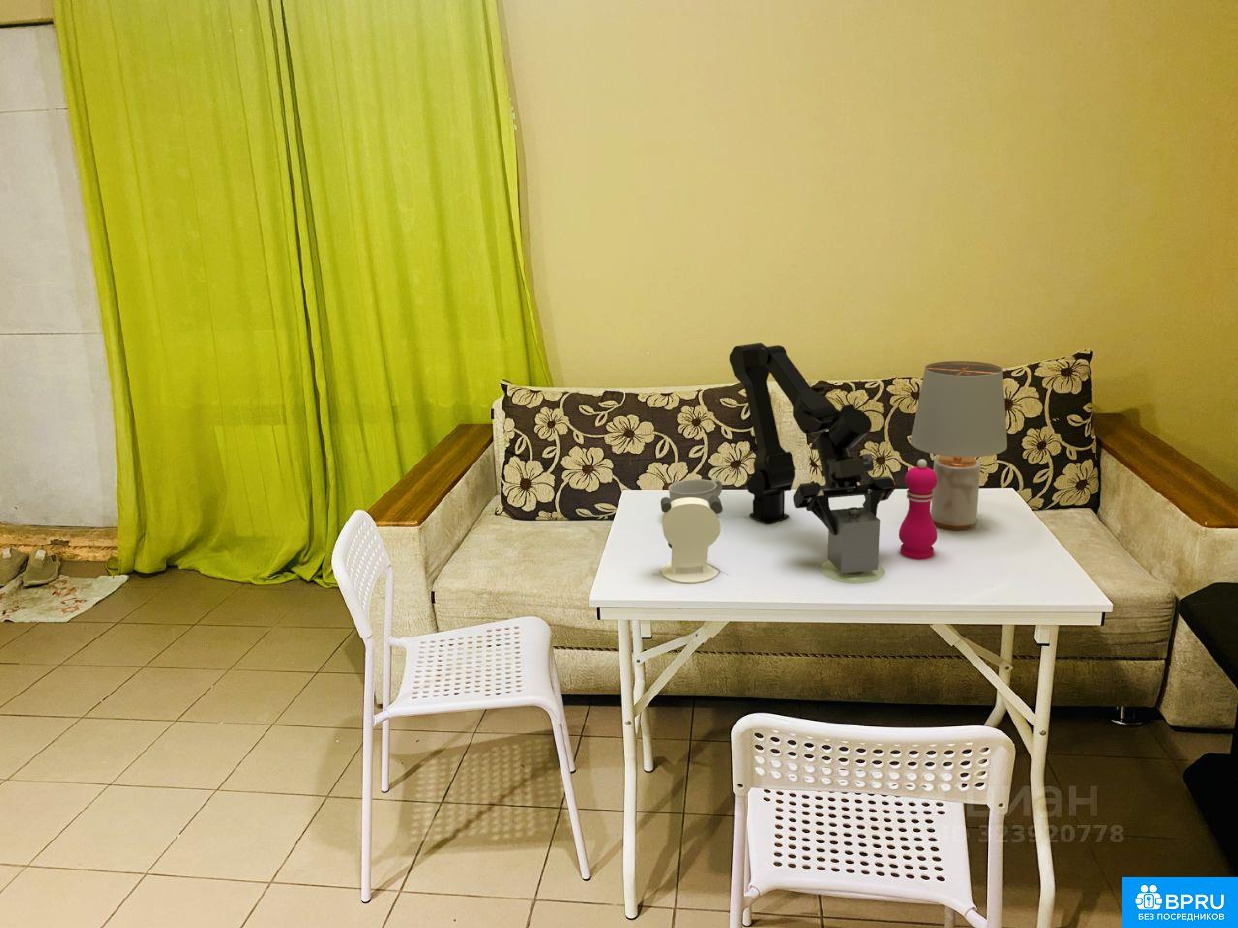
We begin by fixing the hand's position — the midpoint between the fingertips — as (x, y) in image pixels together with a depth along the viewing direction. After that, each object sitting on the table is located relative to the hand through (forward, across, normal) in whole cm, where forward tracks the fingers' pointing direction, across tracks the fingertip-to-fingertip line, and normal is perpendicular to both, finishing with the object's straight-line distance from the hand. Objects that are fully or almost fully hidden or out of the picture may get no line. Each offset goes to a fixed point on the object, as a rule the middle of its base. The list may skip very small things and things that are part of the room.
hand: (854, 532), depth 175 cm
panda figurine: (0, -30, +12) cm, 32 cm away
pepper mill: (+2, +15, +10) cm, 18 cm away
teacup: (-20, -22, +32) cm, 44 cm away
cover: (+4, 0, +5) cm, 7 cm away
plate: (+6, 0, +6) cm, 8 cm away
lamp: (-8, +30, +20) cm, 37 cm away
